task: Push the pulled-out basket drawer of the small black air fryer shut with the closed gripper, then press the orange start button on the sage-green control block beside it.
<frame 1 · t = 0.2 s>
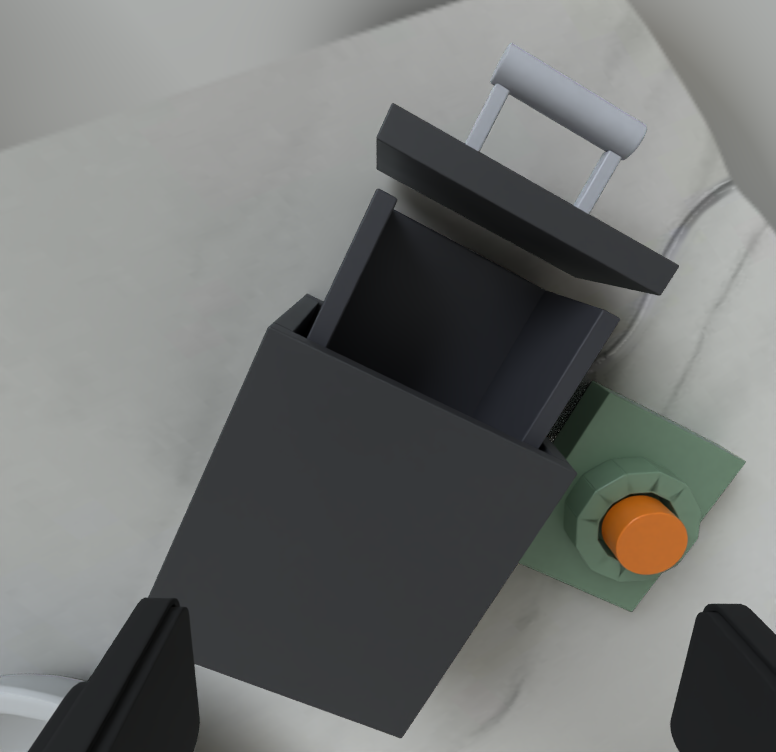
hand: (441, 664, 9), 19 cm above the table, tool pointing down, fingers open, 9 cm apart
control block: (604, 490, 30), on the table
soup bowl: (77, 738, 34), on the table
air fryer: (354, 455, 29), on the table
drawer: (458, 296, 21), point 5 cm above the table, slide at 7.0 cm
start button: (643, 534, 25), point 4 cm above the table, slide at 0.1 cm
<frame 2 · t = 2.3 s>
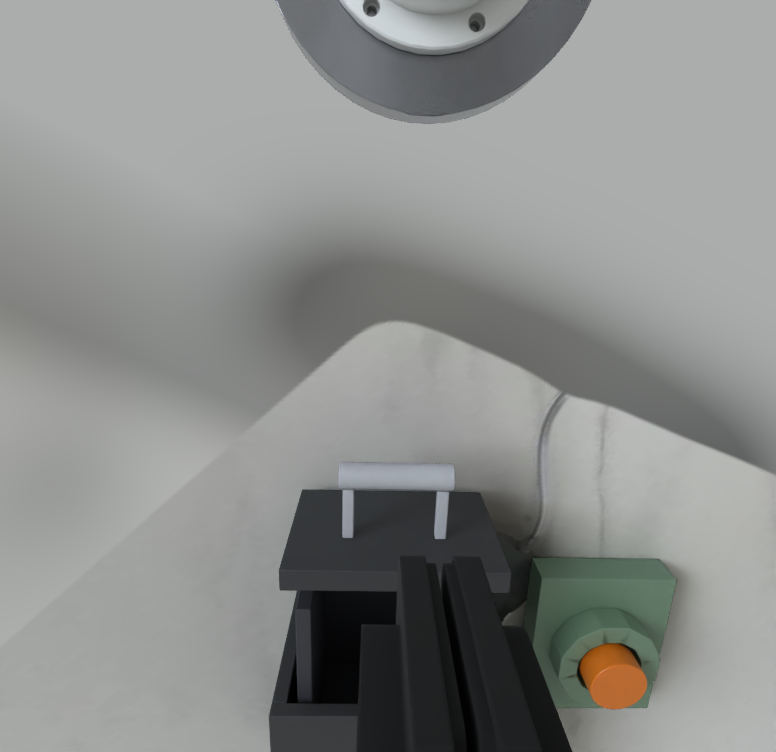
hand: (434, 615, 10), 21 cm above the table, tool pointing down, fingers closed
control block: (584, 622, 36), on the table
air fryer: (384, 669, 37), on the table
drawer: (390, 593, 29), point 5 cm above the table, slide at 7.0 cm
start button: (612, 675, 32), point 4 cm above the table, slide at 0.1 cm
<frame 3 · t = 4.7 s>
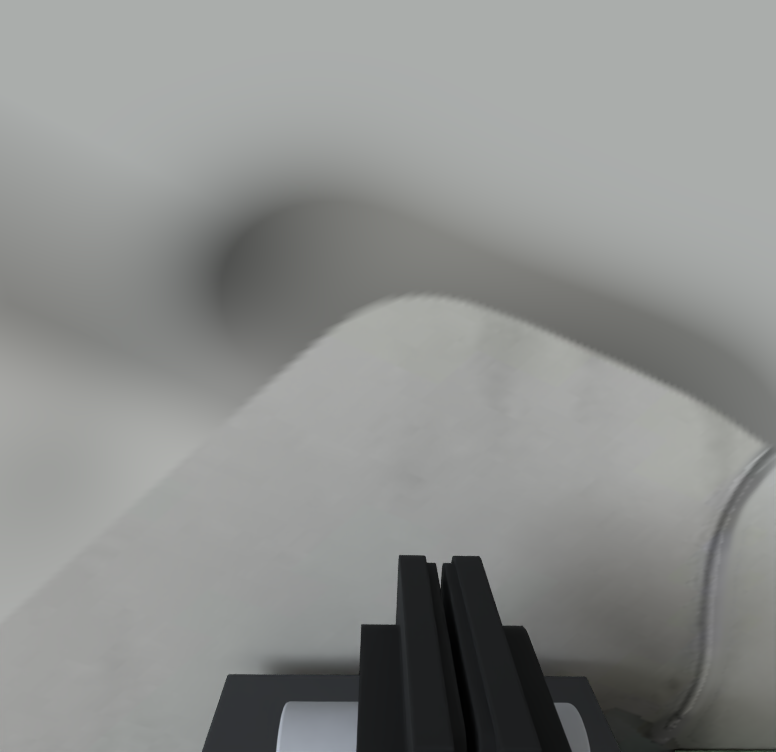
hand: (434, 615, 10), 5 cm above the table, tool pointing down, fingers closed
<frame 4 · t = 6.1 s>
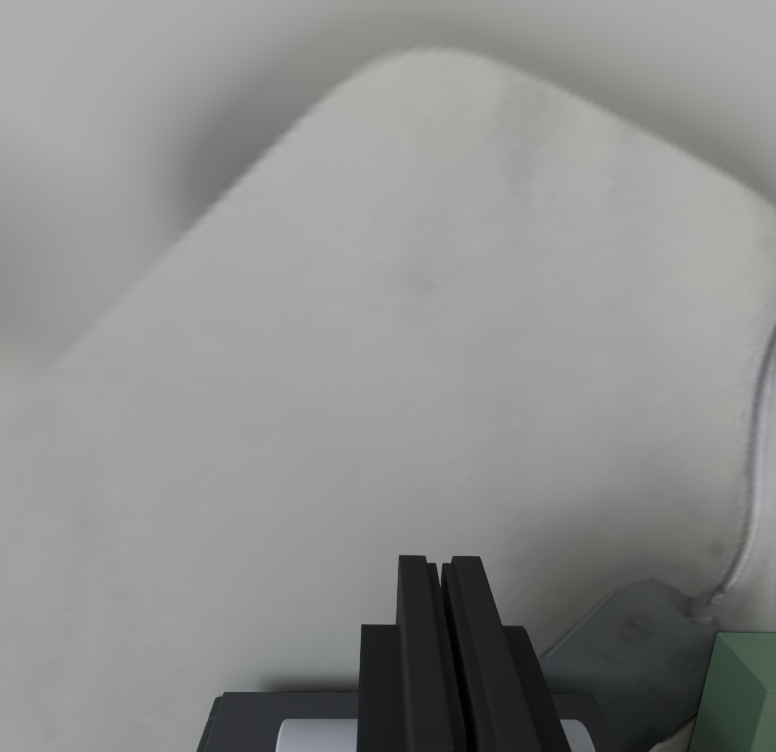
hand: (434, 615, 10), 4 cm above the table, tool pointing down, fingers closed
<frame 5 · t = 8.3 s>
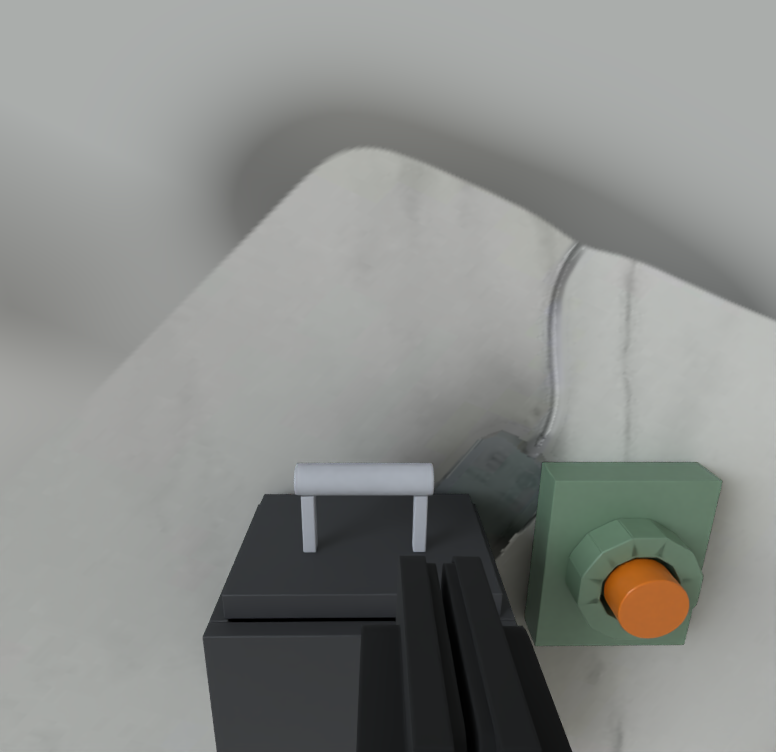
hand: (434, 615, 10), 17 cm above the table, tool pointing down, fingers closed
control block: (606, 544, 30), on the table
air fryer: (367, 606, 31), on the table
drawer: (365, 614, 25), point 5 cm above the table, slide at 0.0 cm, touching air fryer
start button: (645, 597, 25), point 4 cm above the table, slide at 0.1 cm
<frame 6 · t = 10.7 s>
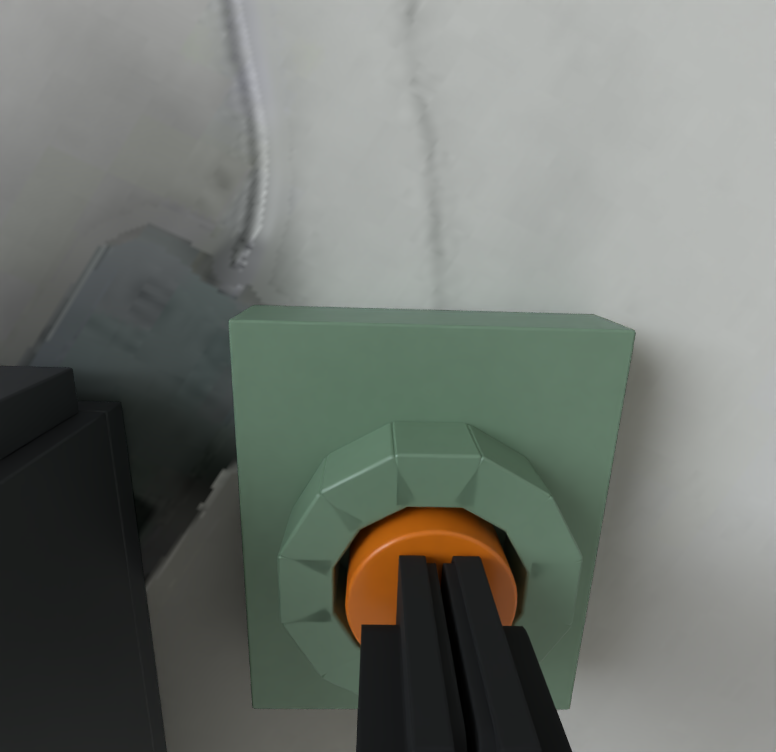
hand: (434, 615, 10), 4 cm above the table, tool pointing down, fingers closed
control block: (415, 496, 14), on the table
start button: (427, 578, 11), point 4 cm above the table, slide at -0.8 cm, touching gripper
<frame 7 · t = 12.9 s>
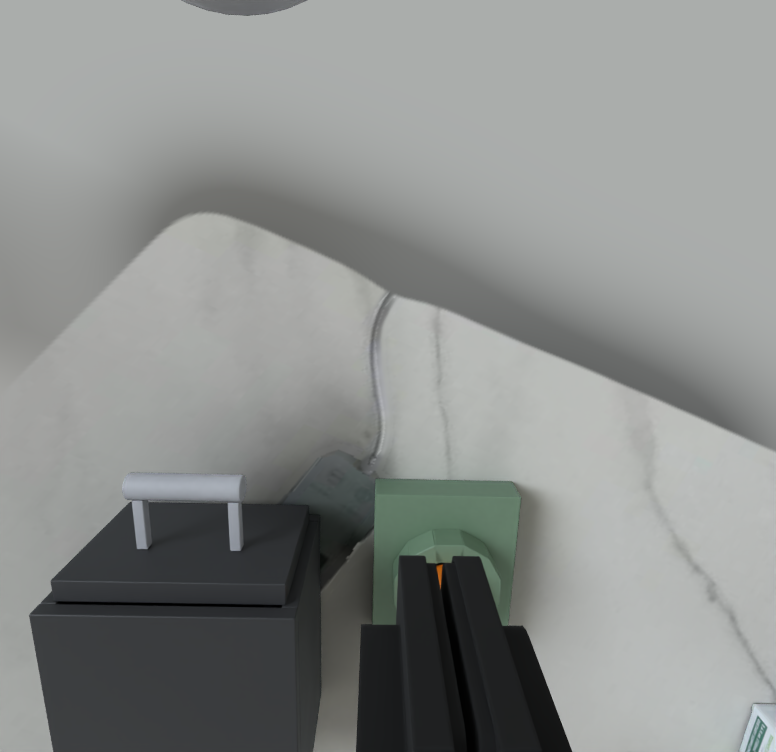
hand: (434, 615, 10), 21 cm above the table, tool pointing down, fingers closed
control block: (439, 553, 34), on the table
air fryer: (230, 606, 35), on the table
drawer: (202, 607, 29), point 5 cm above the table, slide at 0.0 cm, touching air fryer
start button: (448, 598, 29), point 4 cm above the table, slide at 0.1 cm
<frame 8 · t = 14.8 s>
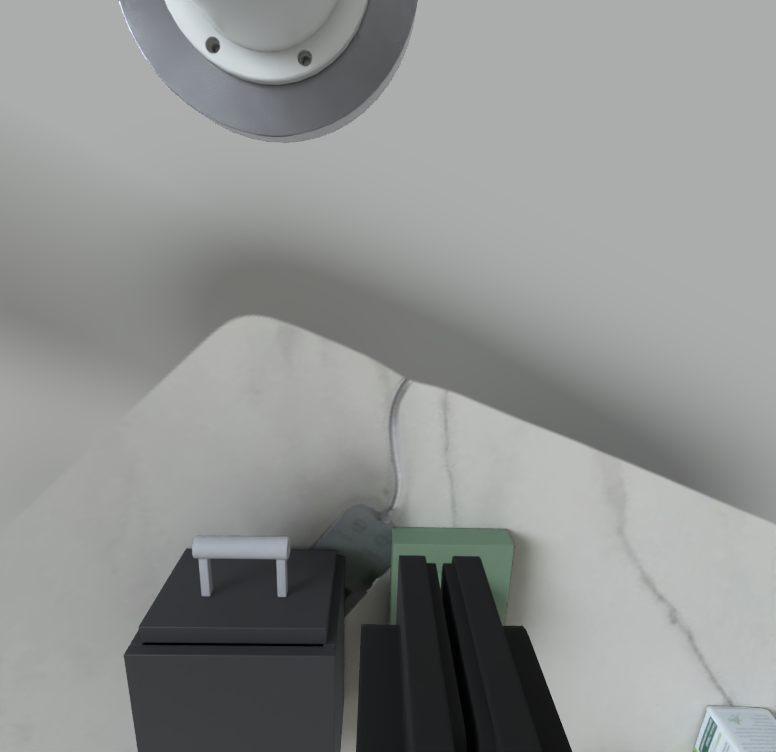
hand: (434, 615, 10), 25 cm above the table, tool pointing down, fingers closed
control block: (445, 587, 40), on the table
air fryer: (268, 631, 41), on the table
syrup box: (727, 727, 45), on the table
drawer: (251, 638, 35), point 5 cm above the table, slide at 0.0 cm, touching air fryer
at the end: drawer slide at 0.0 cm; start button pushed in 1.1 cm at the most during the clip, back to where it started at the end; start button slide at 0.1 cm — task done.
